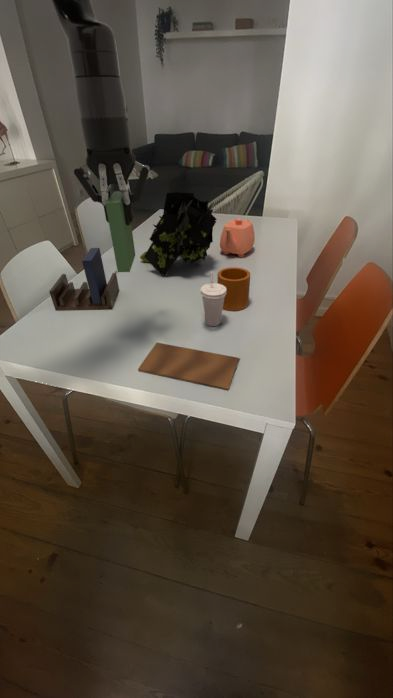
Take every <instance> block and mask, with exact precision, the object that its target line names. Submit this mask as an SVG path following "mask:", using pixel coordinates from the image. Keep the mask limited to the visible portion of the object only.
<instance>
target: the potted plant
mask: <svg viewBox="0 0 393 698" xmlns="http://www.w3.org/2000/svg"><path fill="white" fill-rule="evenodd" d="M213 203H214V201H212V202H211V204H210V206H209V201H202V200H200V199H199V197H197V198H196V197H195V193H194V192H178V191H175V192H166V195H165V201H164V206H163V213H162V215H158V217H159V218H160V219H159V220H158V222H157V223H156V225H155V224H153V227H154V228H153V231H152V233H151V235H150V237H149V240H150V241H151V244H150V245H149V248H148V249H147V251H144V252H143V253H142V254H140V256H139V258H140V260H141V261H143V262H145V263H148V264H150V265H151V266H152V267H153V268H154V269H155V270H156V271H157V272H159V274H160V275H161V276H163V277H164V278H166V276H167V275H168V273H169V271H170V270H171V269H172V267H173V265H174V264H175V263H176V261H177V260H178V259H179V257H180V258H181V259H182V261H183V262H184V263H188V262H189V263H190V265H193V264H195V263H196V262H199V261H200V264H201V265H202V261H204V262H205V261H206V257H207V256H208V252H207V251H208V250H209V249H210V247H211V244H212V243H214V240H213V237H214V236H213V231H214V226H216V223H217V220H218V219H217V218H216V217H215V216H214V215H213V211H214V208H212V206H213Z"/></svg>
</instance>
